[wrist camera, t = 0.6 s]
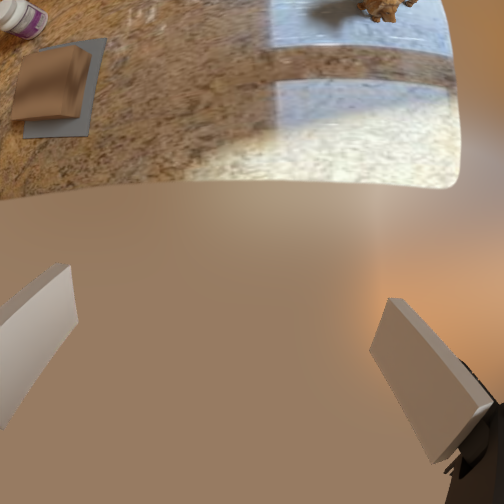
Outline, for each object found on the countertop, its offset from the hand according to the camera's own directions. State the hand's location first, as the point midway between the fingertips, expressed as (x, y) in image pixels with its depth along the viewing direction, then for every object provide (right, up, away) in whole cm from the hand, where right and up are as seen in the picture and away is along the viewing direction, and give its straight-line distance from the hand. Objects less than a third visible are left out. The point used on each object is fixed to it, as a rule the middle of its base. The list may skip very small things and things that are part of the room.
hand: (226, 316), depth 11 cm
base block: (-25, +25, +18) cm, 39 cm away
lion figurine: (+19, +37, +17) cm, 44 cm away
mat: (-25, +25, +18) cm, 40 cm away
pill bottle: (-32, +37, +14) cm, 51 cm away
